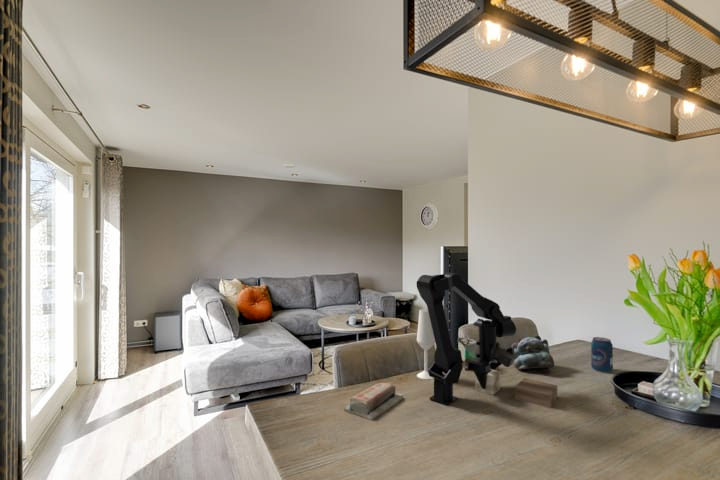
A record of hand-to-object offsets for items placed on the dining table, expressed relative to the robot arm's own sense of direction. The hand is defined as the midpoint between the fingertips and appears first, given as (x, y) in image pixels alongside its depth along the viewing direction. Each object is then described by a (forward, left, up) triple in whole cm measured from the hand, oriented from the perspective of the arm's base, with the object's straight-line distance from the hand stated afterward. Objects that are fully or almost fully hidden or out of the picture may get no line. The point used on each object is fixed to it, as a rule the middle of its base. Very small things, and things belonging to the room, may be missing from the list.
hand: (487, 385), depth 121 cm
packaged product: (-34, +21, -2) cm, 40 cm away
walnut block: (+4, -14, -2) cm, 15 cm away
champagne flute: (-3, +22, -1) cm, 22 cm away
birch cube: (0, 0, -1) cm, 1 cm away
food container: (+18, +15, -2) cm, 23 cm away
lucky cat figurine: (+32, -4, -2) cm, 32 cm away
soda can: (+48, -25, -2) cm, 54 cm away
